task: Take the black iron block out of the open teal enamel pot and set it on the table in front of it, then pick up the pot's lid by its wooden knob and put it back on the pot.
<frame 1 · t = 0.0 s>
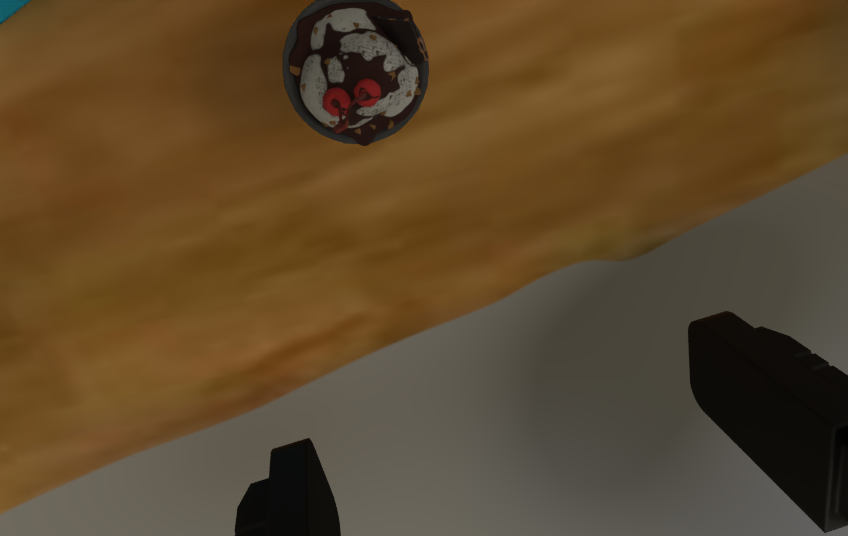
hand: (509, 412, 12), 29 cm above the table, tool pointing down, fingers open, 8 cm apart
sundae: (342, 55, 37), on the table
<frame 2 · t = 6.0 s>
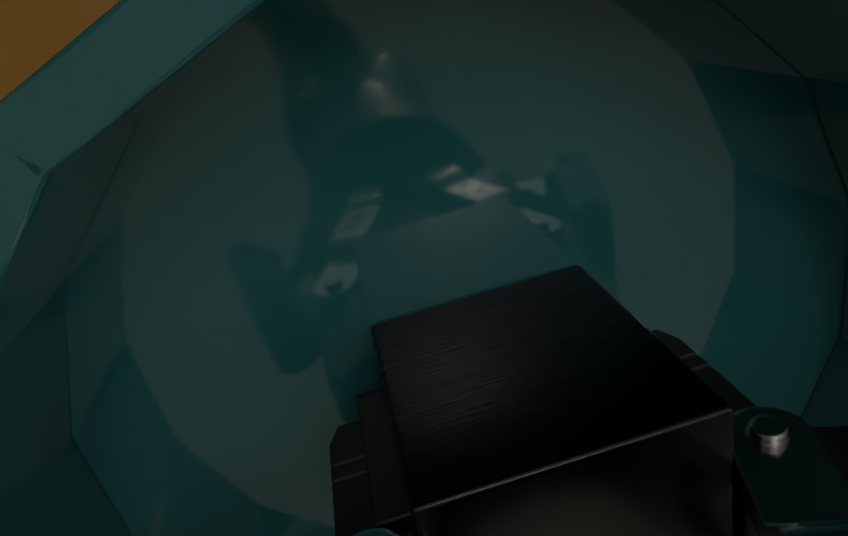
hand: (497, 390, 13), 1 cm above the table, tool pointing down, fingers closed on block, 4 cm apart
pot: (489, 371, 14), on the table
block: (494, 381, 13), resting on pot, touching gripper
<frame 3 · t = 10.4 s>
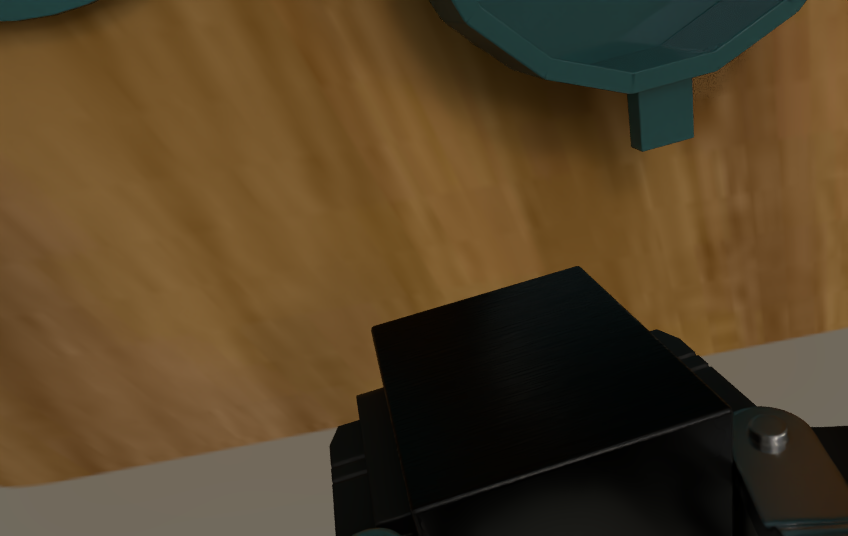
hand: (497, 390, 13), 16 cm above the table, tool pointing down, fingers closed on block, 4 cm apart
block: (494, 382, 13), point 16 cm above the table, touching gripper
when the fingers open (0 cm above the table, at t = 14.6 s): block stays where it is, on the table.
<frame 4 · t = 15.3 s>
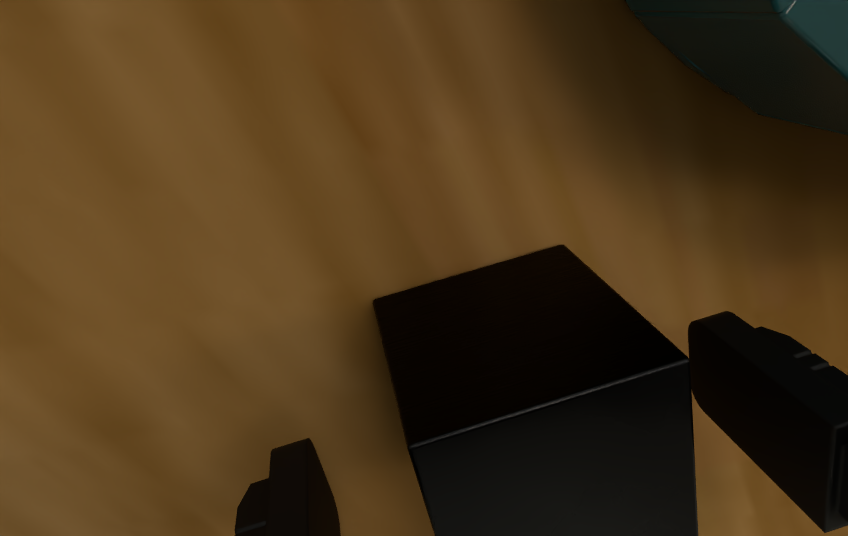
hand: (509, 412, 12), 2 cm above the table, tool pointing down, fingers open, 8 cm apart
block: (486, 352, 14), on the table
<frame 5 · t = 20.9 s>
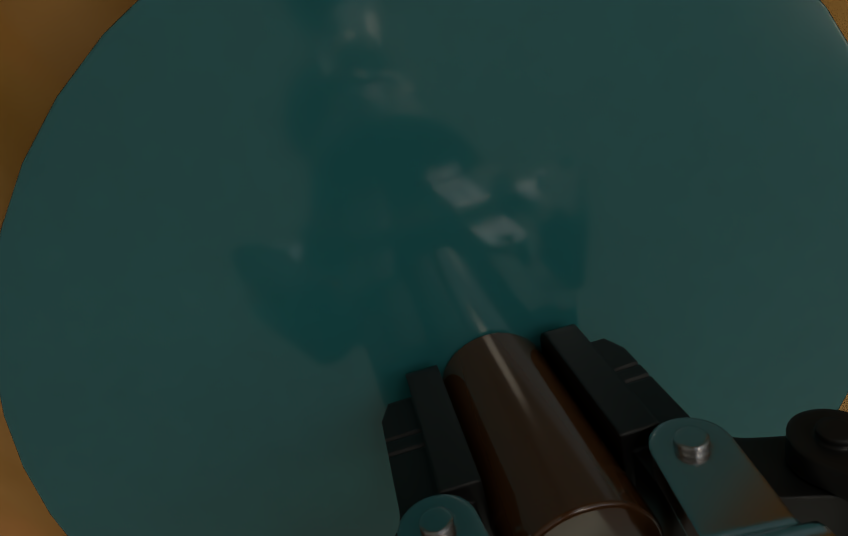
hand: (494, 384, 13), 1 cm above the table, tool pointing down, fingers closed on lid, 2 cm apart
lid: (487, 366, 14), point 1 cm above the table, touching gripper
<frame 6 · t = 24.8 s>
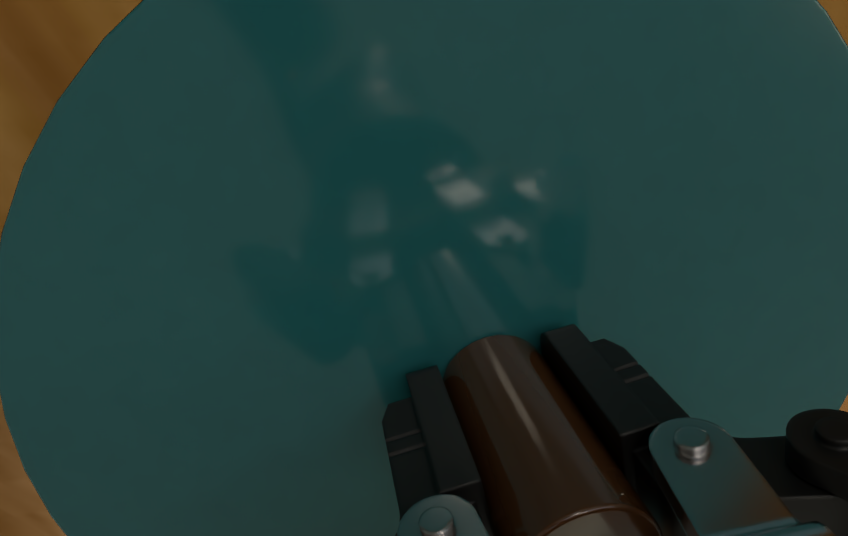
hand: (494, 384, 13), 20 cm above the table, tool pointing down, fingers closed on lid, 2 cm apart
lid: (487, 368, 14), point 19 cm above the table, touching gripper
when the fingers open (5 cm above the table, at t = 28.7 s): lid stays where it is, resting on pot.
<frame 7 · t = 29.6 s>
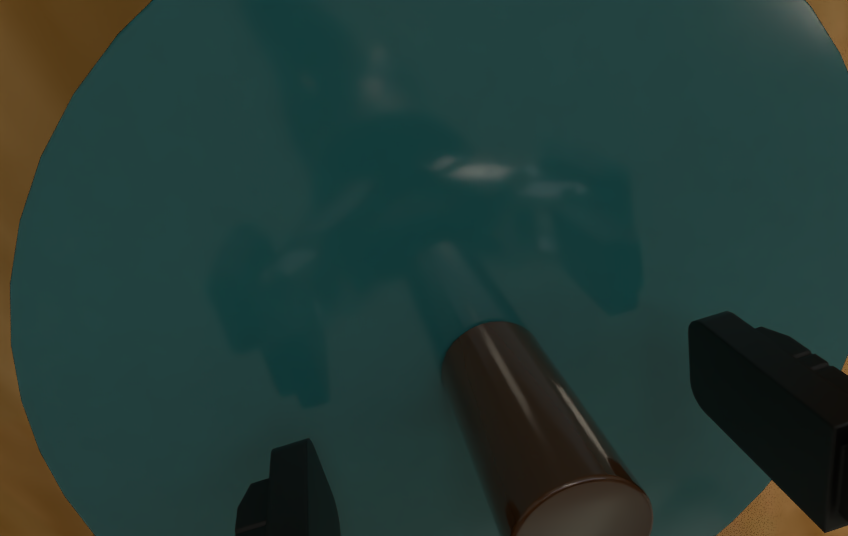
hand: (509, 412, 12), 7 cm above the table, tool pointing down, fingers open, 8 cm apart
lid: (485, 354, 14), point 4 cm above the table, touching pot
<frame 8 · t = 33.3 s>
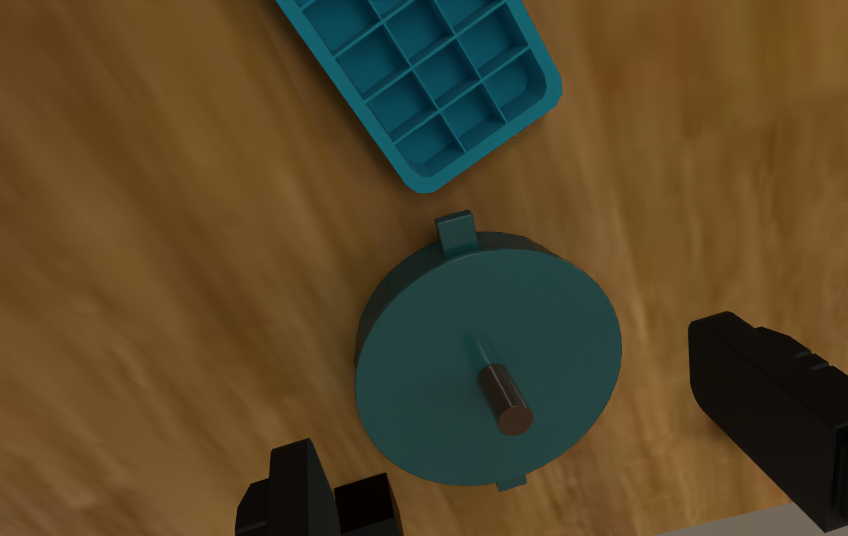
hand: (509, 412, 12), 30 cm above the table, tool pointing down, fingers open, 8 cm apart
pot: (474, 343, 47), on the table
lid: (491, 373, 43), point 4 cm above the table, touching pot
block: (367, 499, 52), on the table
ice cube tray: (397, 5, 37), on the table
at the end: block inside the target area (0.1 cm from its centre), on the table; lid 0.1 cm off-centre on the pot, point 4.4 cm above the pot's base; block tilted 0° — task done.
